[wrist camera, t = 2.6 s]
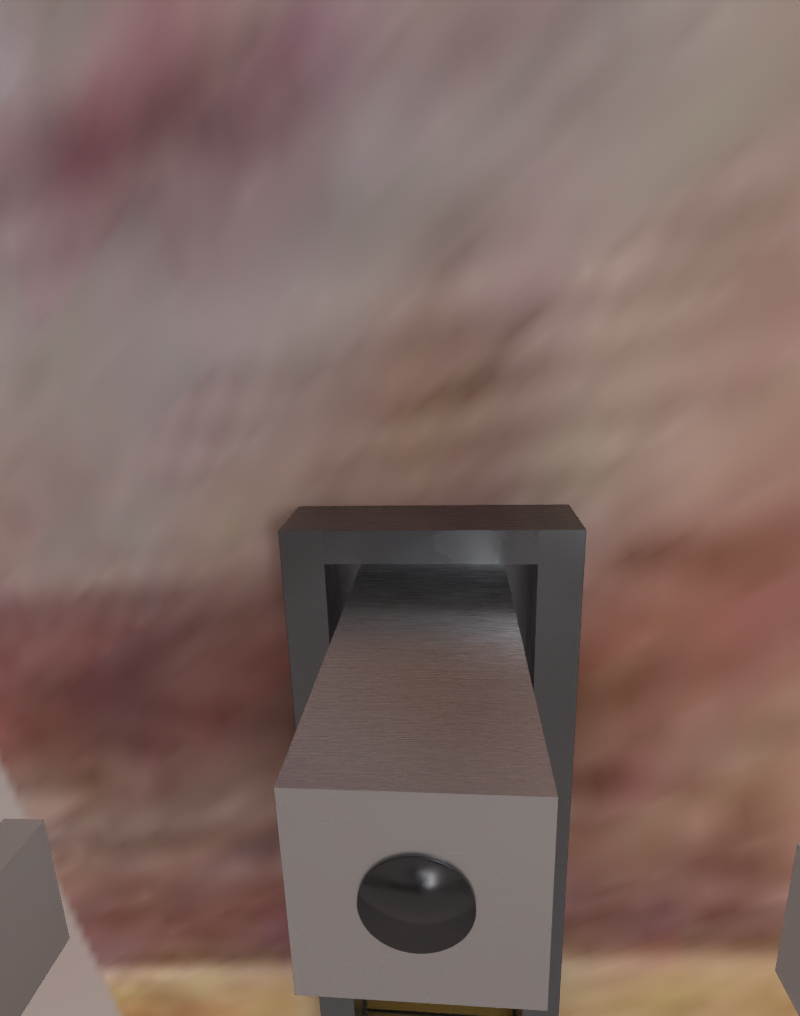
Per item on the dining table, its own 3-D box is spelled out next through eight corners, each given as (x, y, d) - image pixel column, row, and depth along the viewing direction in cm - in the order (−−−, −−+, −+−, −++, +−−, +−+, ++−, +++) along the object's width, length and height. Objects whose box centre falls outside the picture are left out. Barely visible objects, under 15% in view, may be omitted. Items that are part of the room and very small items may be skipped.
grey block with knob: (361, 563, 19) (272, 791, 10) (504, 563, 19) (558, 800, 9) (367, 687, 21) (294, 999, 11) (501, 690, 20) (547, 1015, 11)
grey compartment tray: (295, 506, 20) (274, 531, 17) (569, 504, 19) (586, 529, 16) (335, 1010, 26) (323, 1080, 23) (544, 1023, 25) (553, 1097, 22)
